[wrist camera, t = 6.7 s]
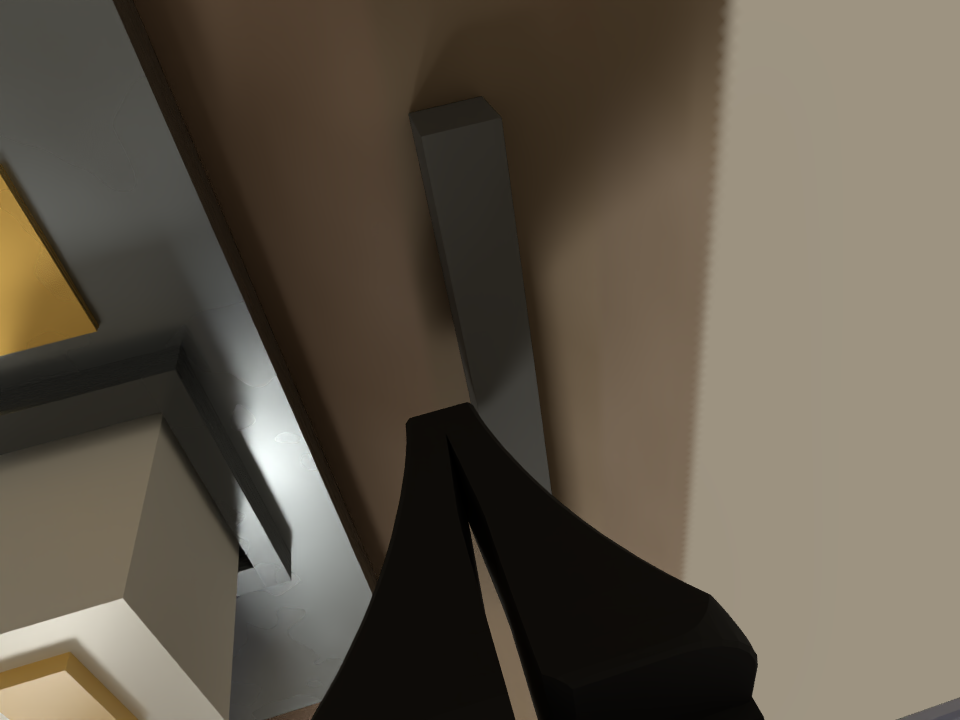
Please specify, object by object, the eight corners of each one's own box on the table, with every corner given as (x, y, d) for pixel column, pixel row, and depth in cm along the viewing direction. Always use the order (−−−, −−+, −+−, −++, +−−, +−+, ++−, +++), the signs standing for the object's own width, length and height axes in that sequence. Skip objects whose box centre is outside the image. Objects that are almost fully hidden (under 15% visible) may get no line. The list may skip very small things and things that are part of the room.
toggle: (239, 532, 16) (227, 741, 12) (87, 576, 15) (23, 806, 11) (165, 404, 13) (119, 615, 9) (-19, 453, 13) (-144, 694, 9)
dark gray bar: (555, 591, 22) (569, 628, 21) (514, 604, 22) (526, 642, 21) (482, 96, 12) (501, 117, 11) (408, 113, 12) (421, 136, 11)
